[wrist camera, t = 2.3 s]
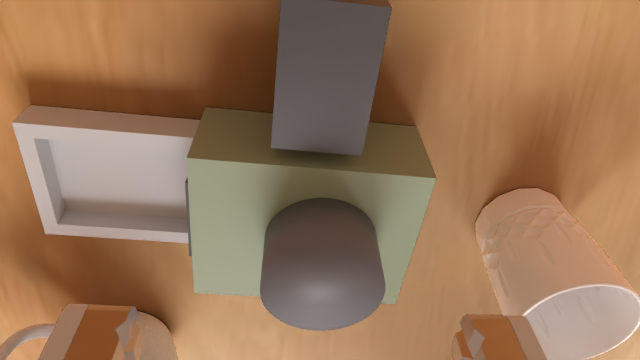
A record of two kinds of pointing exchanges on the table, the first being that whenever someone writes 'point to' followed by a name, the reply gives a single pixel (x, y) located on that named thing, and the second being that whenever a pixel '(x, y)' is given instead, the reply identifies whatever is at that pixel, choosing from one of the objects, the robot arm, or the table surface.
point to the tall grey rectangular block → (327, 73)
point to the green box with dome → (239, 203)
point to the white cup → (555, 276)
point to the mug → (156, 338)
